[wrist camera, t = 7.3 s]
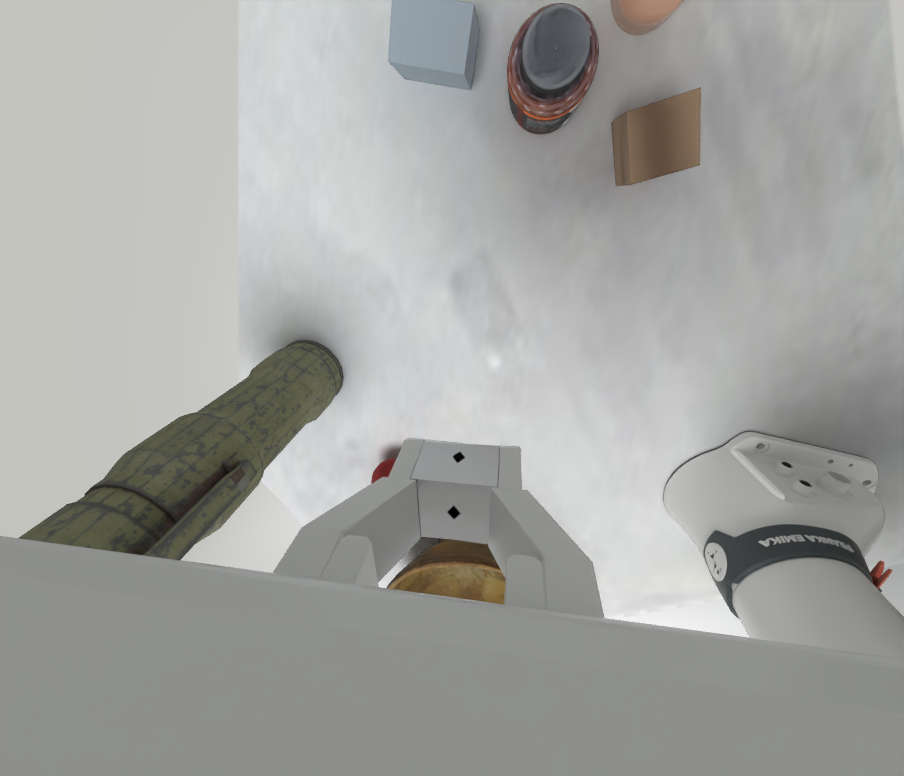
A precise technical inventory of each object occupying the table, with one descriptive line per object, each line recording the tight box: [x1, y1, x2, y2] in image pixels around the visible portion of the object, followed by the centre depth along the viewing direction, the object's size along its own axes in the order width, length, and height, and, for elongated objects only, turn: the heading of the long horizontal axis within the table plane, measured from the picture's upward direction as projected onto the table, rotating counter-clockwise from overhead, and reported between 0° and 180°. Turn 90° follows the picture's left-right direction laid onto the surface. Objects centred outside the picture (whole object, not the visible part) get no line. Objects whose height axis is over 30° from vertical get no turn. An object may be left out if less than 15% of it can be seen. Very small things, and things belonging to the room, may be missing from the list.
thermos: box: [19, 341, 343, 560], centre depth 33 cm, size 9×12×35 cm
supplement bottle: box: [507, 3, 599, 134], centre depth 27 cm, size 6×6×11 cm
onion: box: [371, 458, 397, 484], centre depth 50 cm, size 6×6×8 cm
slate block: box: [388, 0, 480, 90], centre depth 30 cm, size 6×4×5 cm, turn 81°
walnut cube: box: [611, 87, 701, 186], centre depth 30 cm, size 5×5×5 cm
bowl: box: [387, 539, 505, 604], centre depth 56 cm, size 22×23×10 cm
